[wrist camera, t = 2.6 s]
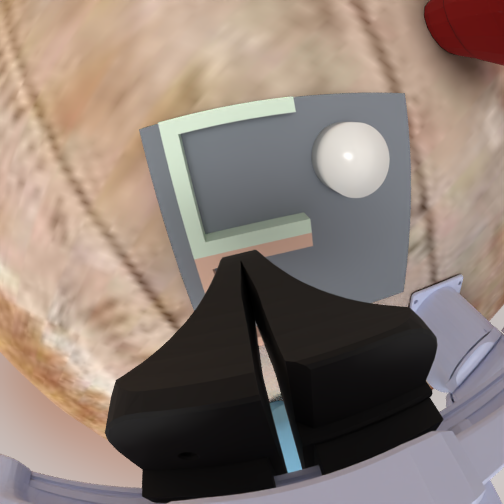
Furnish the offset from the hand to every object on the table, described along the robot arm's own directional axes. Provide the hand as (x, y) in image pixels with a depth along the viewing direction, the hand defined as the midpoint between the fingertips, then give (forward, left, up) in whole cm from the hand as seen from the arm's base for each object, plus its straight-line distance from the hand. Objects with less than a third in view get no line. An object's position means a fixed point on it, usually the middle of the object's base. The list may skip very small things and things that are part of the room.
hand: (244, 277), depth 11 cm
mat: (-3, -5, -10) cm, 12 cm away
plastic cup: (+13, -22, -10) cm, 28 cm away
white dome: (+2, -9, -9) cm, 13 cm away
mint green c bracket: (+2, -1, -10) cm, 10 cm away
